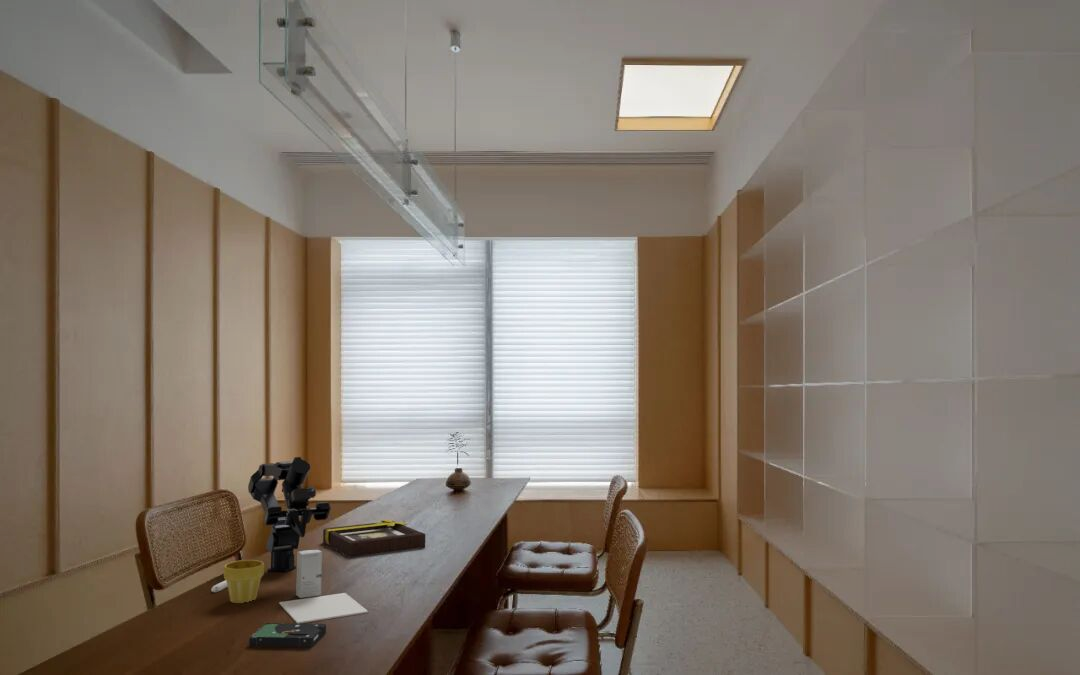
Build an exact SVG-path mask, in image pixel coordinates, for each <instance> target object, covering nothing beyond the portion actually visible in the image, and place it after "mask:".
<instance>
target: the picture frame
mask: <svg viewBox="0 0 1080 675" xmlns="http://www.w3.org/2000/svg"><path fill="white" fill-rule="evenodd" d="M406 525H408V523H407V522H399V521H393V520H390V519H381V520H380V522H371V523H370V522H369V523H364V524H363V523H361V524H354V525H353V524H352V525H343V526H333V527H326V528H324V529H322V530H323V531H322V532H323V534H322V538H323V539H322V544H324V543H325V544H324V545H326V544H327V545H326V546H328V545H329V547H330V546H331V547H330V548H332V547H333V548H332V549H334V548H335V549H334V550H336V549H337V550H338V552H339V551H340V553H341V552H342V554H343V553H344V554H343V555H345V556H347V557H349V558H355V556H356V557H361V556H370V555H376V554H377V555H378V554H383V553H392V552H400V551H407V550H414V549H415V550H416V549H421V548H426V533H424V532H422V531H419V530H417V529H414V528H412V527H410V526H406ZM337 550H336V551H337Z"/></svg>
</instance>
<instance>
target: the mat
mask: <svg viewBox="0 0 1080 675" xmlns="http://www.w3.org/2000/svg"><path fill="white" fill-rule="evenodd" d="M279 605H280V607H281V608H283V610H284V611H285V612H286V613H287V614H288V615H289V616H290V617H291V619H292V620H293V621H294V622H295V624H297V623H299V624H307V623H311V622H319V621H324V620H331V619H336V618H342V617H343V618H344V617H349V616H356V615H362V614H368V613H369V611H368V610H367V609H366V608H365V607H363V606H362V604H360V603H359V602H357V601H356V600H355V599H354V598H353V597H351V596H350V595H349V594H347V592H342V593H334V594H333V593H332V594H328V595H319V596H312V597H305V598H300V599H293V600H286V601H280V602H279Z"/></svg>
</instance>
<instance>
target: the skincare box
mask: <svg viewBox="0 0 1080 675" xmlns="http://www.w3.org/2000/svg"><path fill="white" fill-rule="evenodd" d="M296 554H297V555H296V556H297V557H296V584H295V585H296V588H295V592H296V593H295V595H296V596H297V597H298V598H300V599H305V598H312V597H320V596H322V575H323V574H322V569H323V568H322V567H323V551H321V550H320V549H306V550H300V551H297V553H296Z"/></svg>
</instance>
